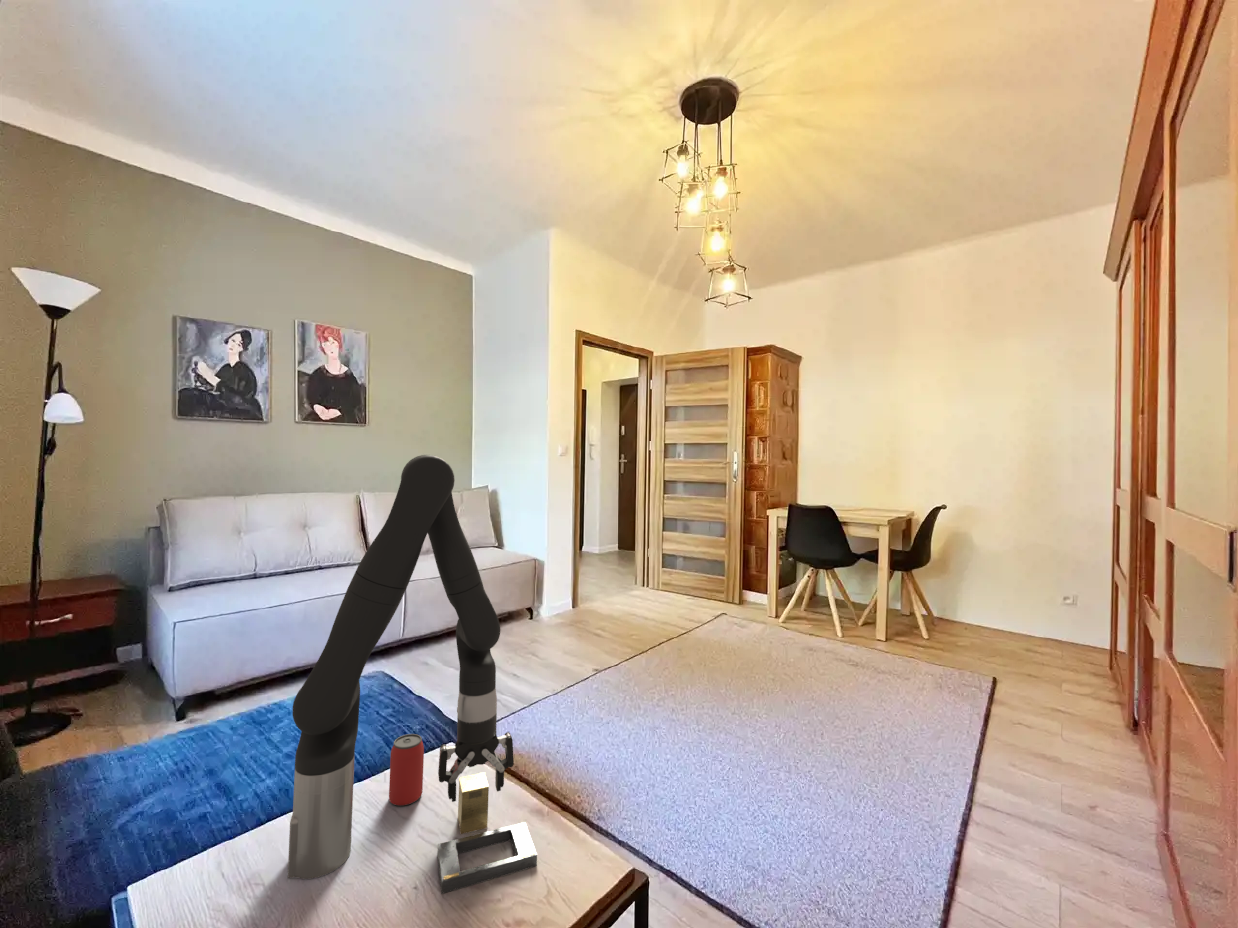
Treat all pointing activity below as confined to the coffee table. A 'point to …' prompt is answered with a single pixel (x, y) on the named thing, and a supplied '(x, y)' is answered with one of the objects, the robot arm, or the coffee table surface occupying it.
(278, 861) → the coffee table surface
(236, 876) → the coffee table surface
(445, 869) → the grey rectangular frame
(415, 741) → the beer can
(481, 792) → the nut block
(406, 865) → the coffee table surface
